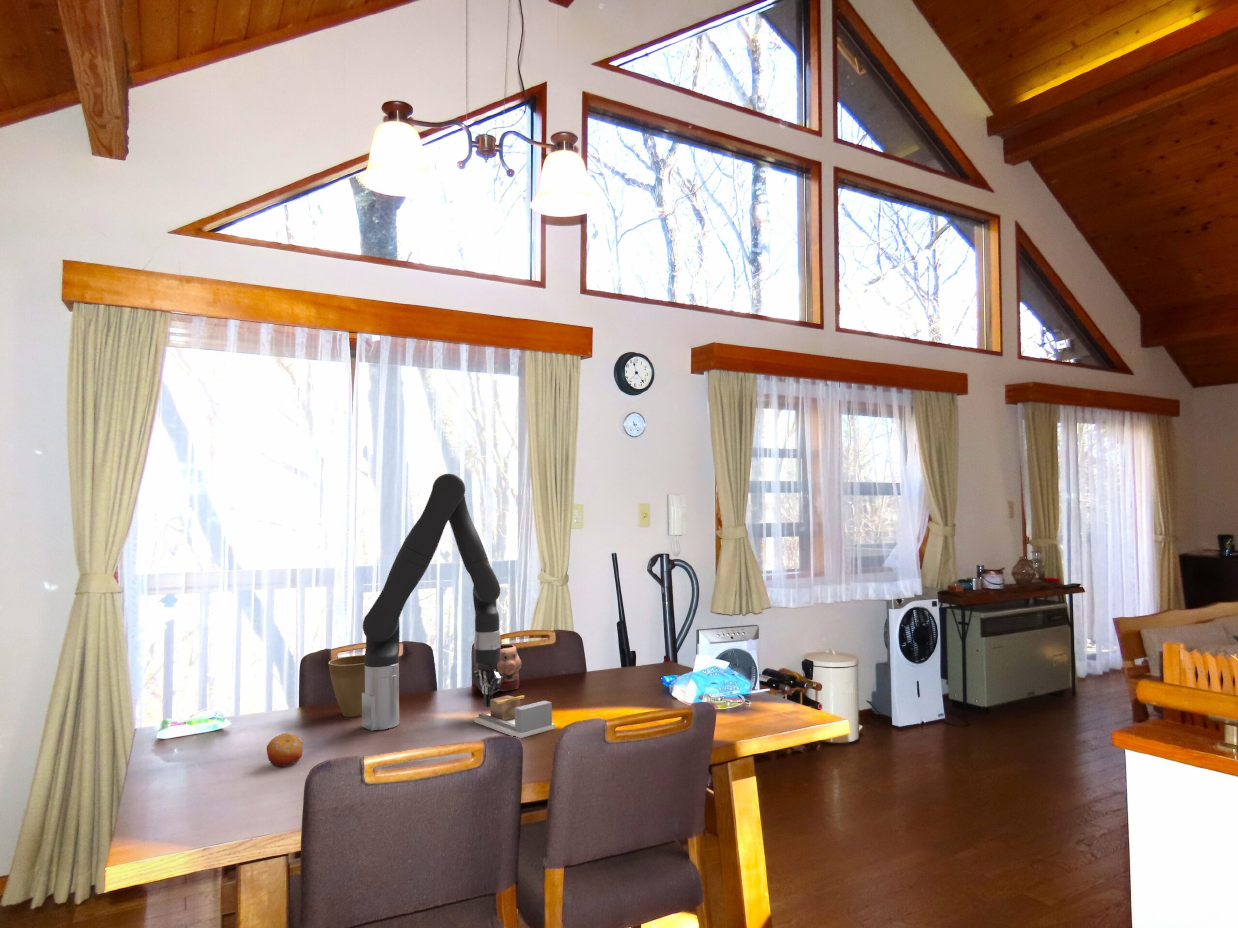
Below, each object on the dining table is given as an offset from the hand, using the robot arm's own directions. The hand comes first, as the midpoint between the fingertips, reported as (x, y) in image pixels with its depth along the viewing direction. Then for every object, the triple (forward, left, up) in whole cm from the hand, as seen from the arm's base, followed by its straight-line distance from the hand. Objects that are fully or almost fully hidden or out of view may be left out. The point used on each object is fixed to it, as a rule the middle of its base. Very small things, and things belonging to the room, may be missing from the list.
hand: (488, 706), depth 221 cm
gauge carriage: (0, -9, -1) cm, 9 cm away
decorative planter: (+22, +26, -3) cm, 34 cm away
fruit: (-57, +1, -3) cm, 57 cm away
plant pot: (-26, +32, -3) cm, 41 cm away
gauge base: (0, -13, -3) cm, 13 cm away
